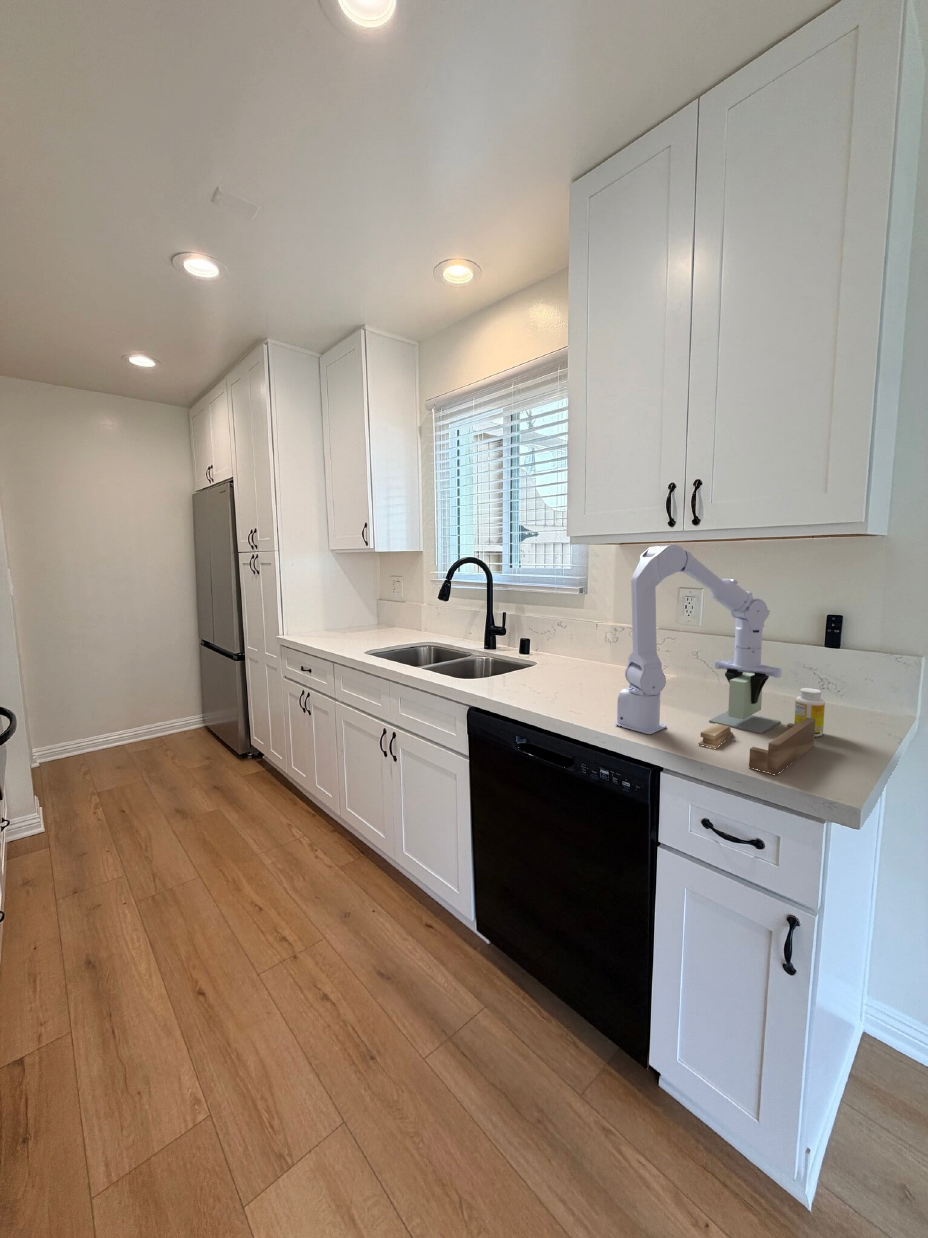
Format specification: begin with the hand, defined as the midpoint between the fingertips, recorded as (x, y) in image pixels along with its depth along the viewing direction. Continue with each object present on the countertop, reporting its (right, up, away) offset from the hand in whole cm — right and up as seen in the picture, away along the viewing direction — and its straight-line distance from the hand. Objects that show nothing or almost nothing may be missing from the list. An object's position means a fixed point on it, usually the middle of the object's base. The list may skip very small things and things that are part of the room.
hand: (745, 701), depth 125 cm
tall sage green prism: (0, -3, 0) cm, 3 cm away
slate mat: (0, -5, +1) cm, 5 cm away
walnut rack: (-4, -8, -21) cm, 23 cm away
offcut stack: (-13, -7, -11) cm, 18 cm away
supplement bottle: (+10, -6, -8) cm, 14 cm away
